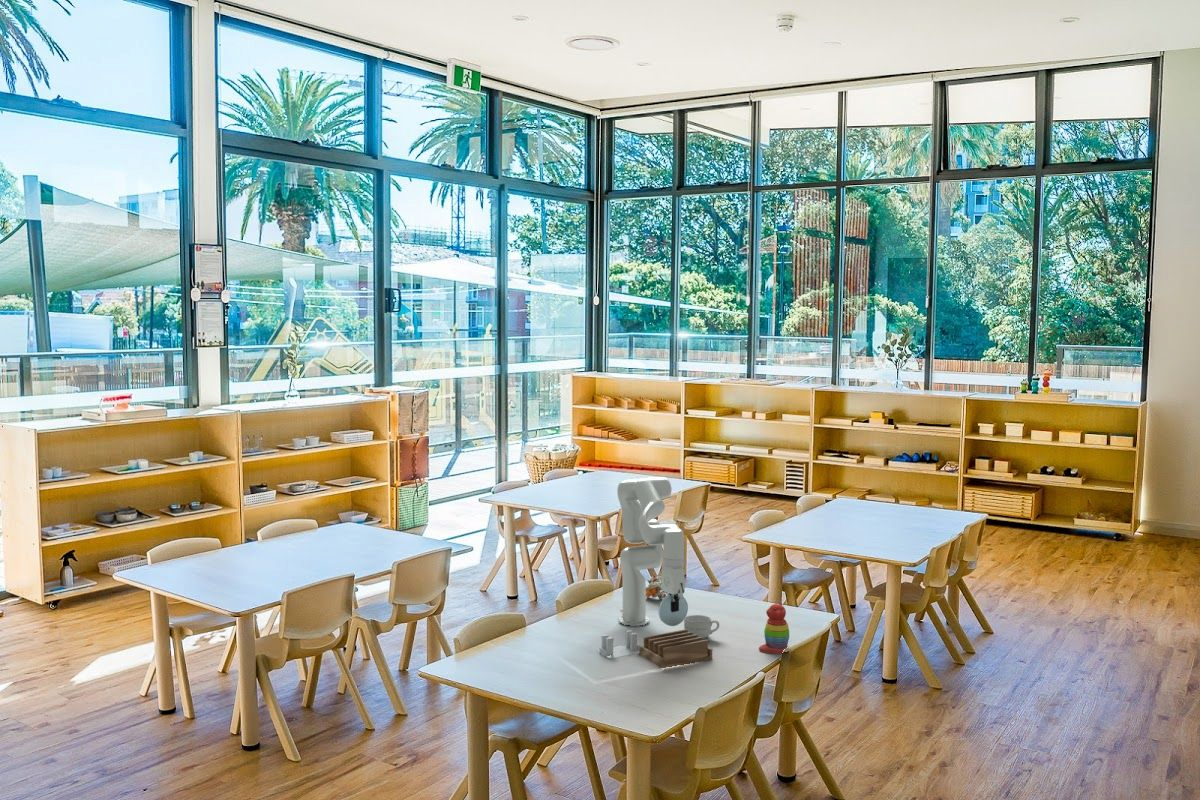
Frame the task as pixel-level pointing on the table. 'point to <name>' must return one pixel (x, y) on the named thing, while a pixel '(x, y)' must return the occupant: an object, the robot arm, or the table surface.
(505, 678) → the table surface
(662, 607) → the plate
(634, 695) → the table surface
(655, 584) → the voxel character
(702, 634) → the teacup
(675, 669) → the table surface
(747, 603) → the table surface
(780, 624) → the stacking bear
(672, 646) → the rack
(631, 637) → the holder
